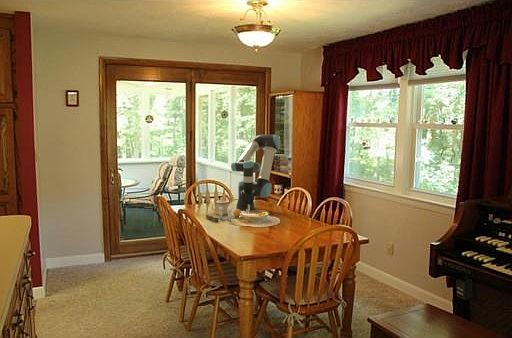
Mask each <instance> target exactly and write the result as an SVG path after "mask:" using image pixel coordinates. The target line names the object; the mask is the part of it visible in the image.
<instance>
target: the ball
mask: <svg viewBox="0 0 512 338" xmlns="http://www.w3.org/2000/svg"><path fill="white" fill-rule="evenodd" d="M240 213H241V214H242V210H239V209H234V210H233V216H235V217H239V216H240Z"/></svg>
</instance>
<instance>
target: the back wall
mask: <svg viewBox="0 0 512 338" xmlns="http://www.w3.org/2000/svg"><path fill="white" fill-rule="evenodd" d="M205 216H206V220H209V221H211V222H213V223H219V219H218V218H219V216H214V215H211V214H209V213H208V214H206V215H205Z"/></svg>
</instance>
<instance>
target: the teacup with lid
mask: <svg viewBox="0 0 512 338" xmlns="http://www.w3.org/2000/svg"><path fill="white" fill-rule="evenodd" d="M214 206H215V208H214ZM219 207H223V216H224V215H228V201H227V200H224V198H219V200H216V201H215V203H213V204H212V205H211V209H212V211H213V212H215V214H216V215H218V216H219Z"/></svg>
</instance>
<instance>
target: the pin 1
mask: <svg viewBox="0 0 512 338" xmlns="http://www.w3.org/2000/svg"><path fill="white" fill-rule="evenodd" d="M223 217H224V215H223V207H219V215H218V218H219V219H218V220H220V219H223Z"/></svg>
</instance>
